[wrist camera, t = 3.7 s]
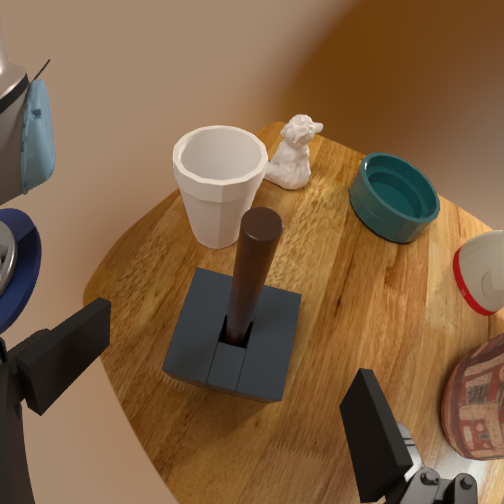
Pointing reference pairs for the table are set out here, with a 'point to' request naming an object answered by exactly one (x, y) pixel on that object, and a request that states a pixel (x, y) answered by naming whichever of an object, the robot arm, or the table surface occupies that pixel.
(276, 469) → the table surface
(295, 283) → the table surface
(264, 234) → the brown rod
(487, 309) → the kitchen timer
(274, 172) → the white creature statuette
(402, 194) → the bowl
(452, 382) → the pottery
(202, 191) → the foam cup
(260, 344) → the holder
